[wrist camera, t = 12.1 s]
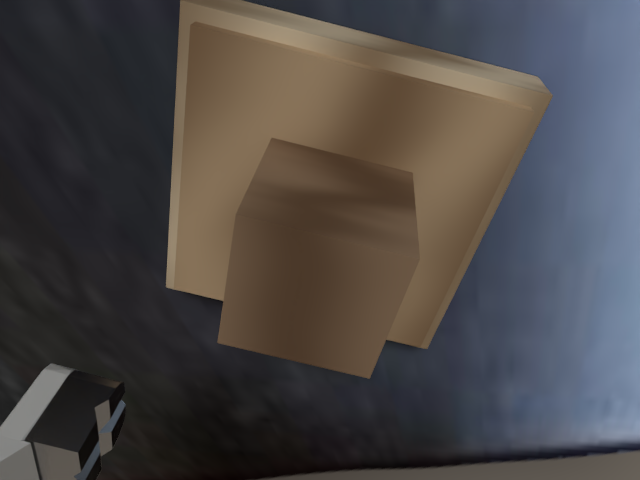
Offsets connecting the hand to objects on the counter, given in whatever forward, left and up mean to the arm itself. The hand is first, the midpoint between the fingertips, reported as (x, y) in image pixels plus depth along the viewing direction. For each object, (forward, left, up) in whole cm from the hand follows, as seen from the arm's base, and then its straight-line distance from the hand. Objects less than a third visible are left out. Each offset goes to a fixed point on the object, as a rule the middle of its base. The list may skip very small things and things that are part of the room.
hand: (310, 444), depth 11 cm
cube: (+1, +1, -10) cm, 10 cm away
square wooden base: (+1, +1, -12) cm, 12 cm away
